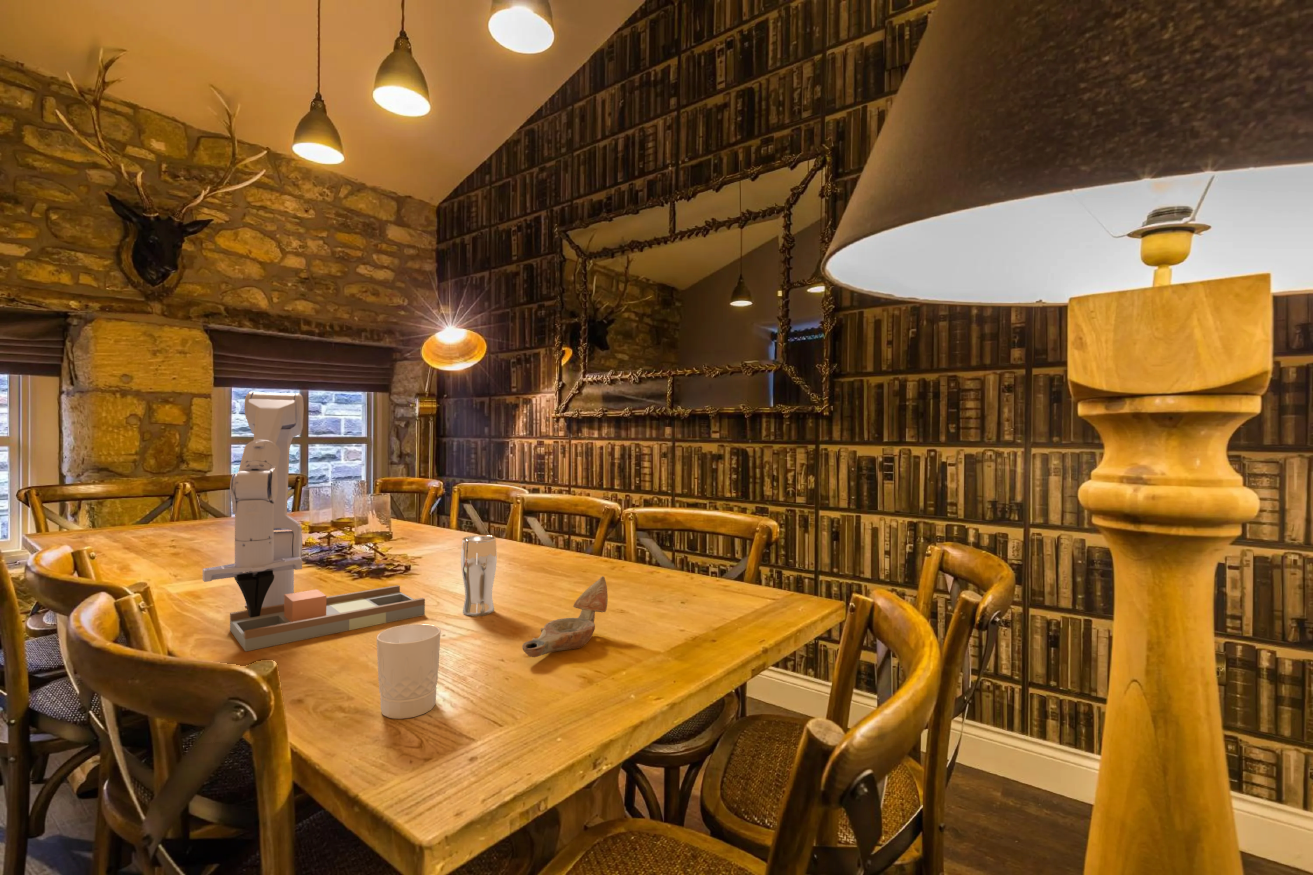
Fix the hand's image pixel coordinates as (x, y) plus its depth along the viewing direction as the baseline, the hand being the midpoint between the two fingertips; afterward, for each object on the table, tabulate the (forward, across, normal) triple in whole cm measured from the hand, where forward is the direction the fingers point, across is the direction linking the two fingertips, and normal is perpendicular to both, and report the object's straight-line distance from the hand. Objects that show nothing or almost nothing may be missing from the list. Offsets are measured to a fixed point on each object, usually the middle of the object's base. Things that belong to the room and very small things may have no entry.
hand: (254, 615), depth 108 cm
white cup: (+4, +10, -45) cm, 46 cm away
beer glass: (+4, +36, -12) cm, 39 cm away
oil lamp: (+4, +38, -40) cm, 56 cm away
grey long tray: (+4, +12, 0) cm, 13 cm away
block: (+2, +8, 0) cm, 8 cm away
